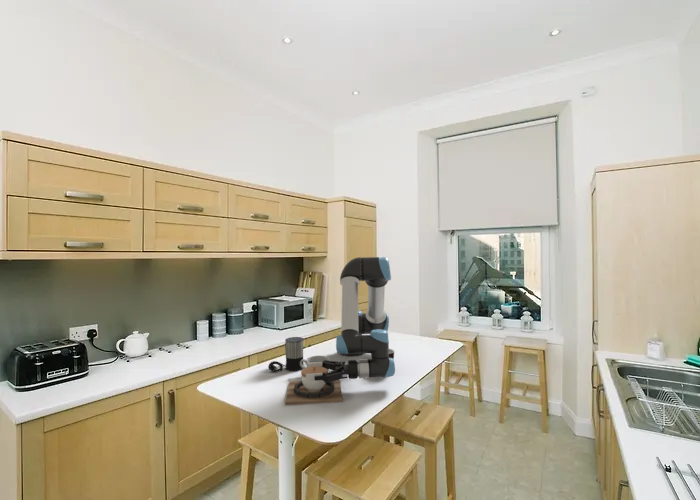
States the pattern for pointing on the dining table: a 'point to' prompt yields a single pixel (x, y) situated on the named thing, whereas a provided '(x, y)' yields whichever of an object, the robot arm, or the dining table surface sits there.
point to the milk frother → (291, 355)
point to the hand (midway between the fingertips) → (306, 371)
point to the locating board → (313, 394)
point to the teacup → (314, 360)
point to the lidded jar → (313, 385)
